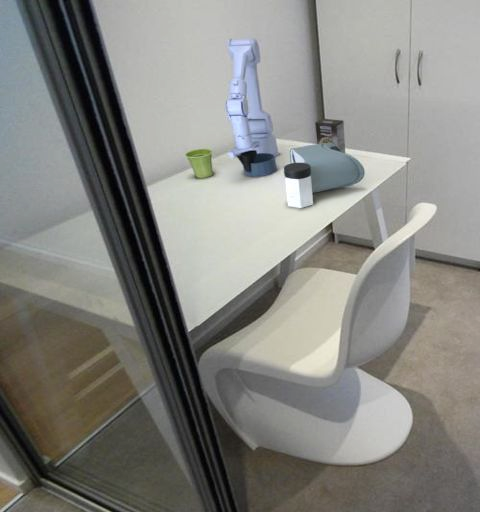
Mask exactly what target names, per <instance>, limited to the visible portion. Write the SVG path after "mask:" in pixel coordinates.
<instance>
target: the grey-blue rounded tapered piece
mask: <svg viewBox="0 0 480 512" xmlns="http://www.w3.org/2000/svg"><path fill="white" fill-rule="evenodd" d="M291 163H306V164H309V165H310V167H311V182H312V194H315V193H319V192H324V191H328V190H332V189H338V188H343V187H350V186H354V185H356V184H359V183H360V182H361V181H363V179H364V177H365V175H366V174H365V173H366V171H365V168H364V166H363V164H362V163H361V162H360V161H359V160H358V159H357V158H356V157H354V156H353V155H350V154H349V153H346V152H345V153H342V152H340V150H339V149H338V147H337V146H336V145H335V144H333V143H322V144H317V143H315V144H309V145H305V146H299V147H294V148H290V149H289V164H291Z"/></svg>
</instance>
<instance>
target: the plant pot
mask: <svg viewBox="0 0 480 512" xmlns="http://www.w3.org/2000/svg"><path fill="white" fill-rule="evenodd" d="M184 156H185V157H186V158H187V160H188V161H189V164H190V166H191V168H192V171H193V174H194V176H195V177H196V178H197V179H204V178H207V177H208V178H210V177H212V175H213V174H214V173H213V172H214V171H213V162H212V161H213V160H212V156H213V150H212V149H210V148H197V149H192V150H189V151H187V152H186V153H185V154H184Z"/></svg>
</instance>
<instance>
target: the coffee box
mask: <svg viewBox="0 0 480 512" xmlns="http://www.w3.org/2000/svg"><path fill="white" fill-rule="evenodd" d="M344 123H345V121H344V119H343V120H342V119H341V120H340V119H332V118H331V119H330V118H321V119H319V120H317V121H315V122H314V124H315V133H316V144H322V143H333V144H335V145H336V146H337V147H338V149H339V150H340V152H342V153H345V154H346V139H345V124H344Z"/></svg>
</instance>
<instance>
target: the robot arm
mask: <svg viewBox="0 0 480 512" xmlns="http://www.w3.org/2000/svg"><path fill="white" fill-rule="evenodd" d="M226 43H227V45H226V47H227V52H228V54H229V57H230V58H231V60H232V66H233V67H232V68H233V71H232V72H233V73H232V74H233V78H232V79H230V80H229V89H228V99H227V100H226V101H225V104H224V105H225V106H224V107H225V113H226V115H227V117H228V121H229V122H230V123H231V128H232V132H233V133H232V134H233V137H234V141H235V147H234V148H233V149H231V150H230V151H228V157H229V158H230V159H236V158H237V159H238V161H239V162H240V163H241V165H242V168H243V167H244V169H245V171H246V172H251V164H250V163H254V160H255V157H256V154H257V153H269V154H273V155H274V156H275V157H277V156H280V154H281V153H280V152H279V149H278V144H277V138H276V136H275V135H274V134H273V133H274V132H273V131H274V124H273V121H272V117H271V116H272V115H271V114H270V113H268V112H267V111H266V110H265V109H263V105H262V104H263V103H262V97H261V90H260V82H259V75H258V64H259V63H261V53H260V52H261V51H260V46H259V43H258V40H257V39H256V38H254V37H252V38H229V39H228V40H227V42H226ZM244 169H243V170H244Z"/></svg>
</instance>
